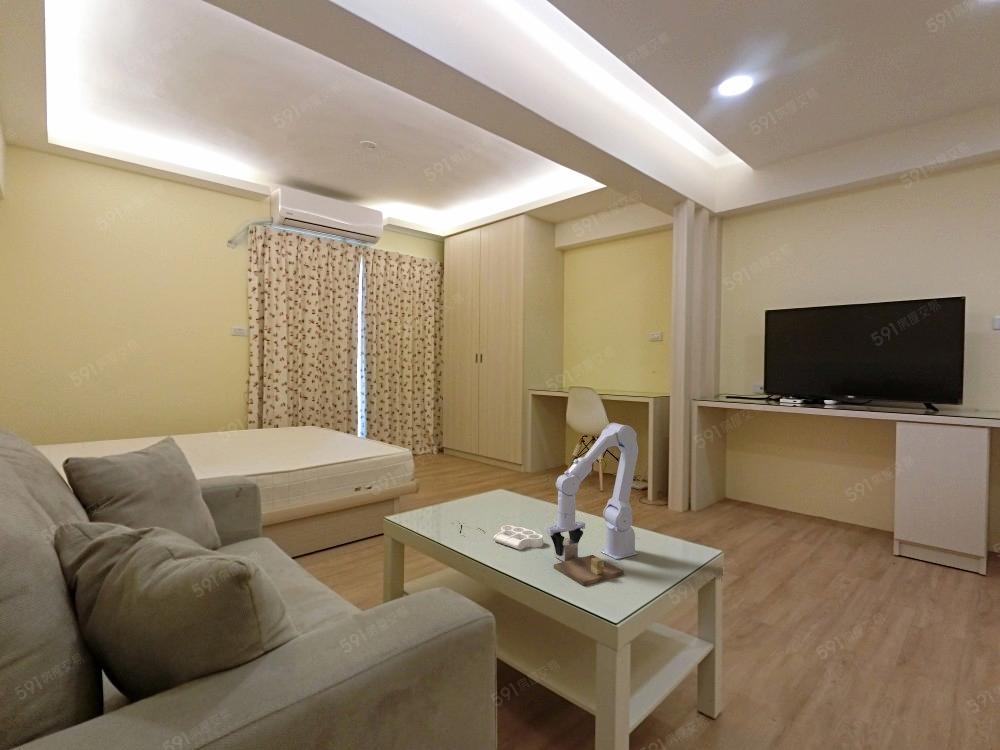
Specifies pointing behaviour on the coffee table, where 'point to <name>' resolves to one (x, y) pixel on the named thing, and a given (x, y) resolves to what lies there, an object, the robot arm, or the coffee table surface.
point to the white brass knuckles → (518, 537)
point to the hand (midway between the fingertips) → (566, 553)
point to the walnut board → (588, 570)
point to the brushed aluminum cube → (568, 550)
